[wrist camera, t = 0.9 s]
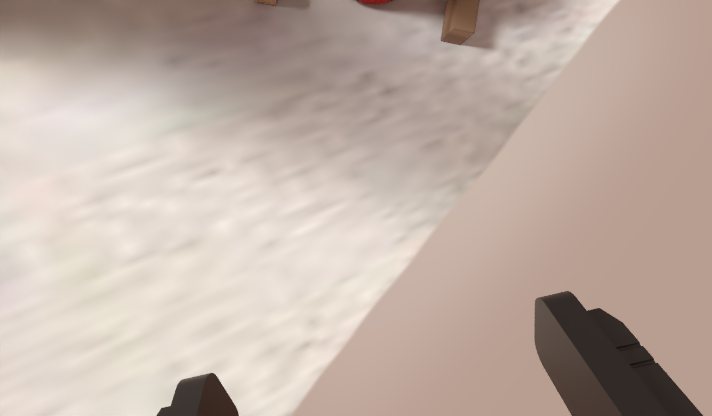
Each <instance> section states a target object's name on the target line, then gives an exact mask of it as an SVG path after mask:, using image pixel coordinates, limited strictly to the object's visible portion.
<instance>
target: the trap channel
mask: <svg viewBox="0 0 712 416" xmlns="http://www.w3.org/2000/svg"><path fill="white" fill-rule="evenodd" d="M254 2H259V3H264V4H269V5H273V6H276V3H277V0H254ZM478 6H479V0H447V3H446V10H445V16H444V23H443V30H442V36H441V41H444V42H449V43H454V44H459V45H460V44H462V43H463V42H464V41H465V40H466V39H467V38H469V37H470V36H471V35H472V34H473V33H475V26H476V19H477V13H478Z"/></svg>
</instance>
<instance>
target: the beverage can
mask: <svg viewBox="0 0 712 416" xmlns="http://www.w3.org/2000/svg"><path fill="white" fill-rule="evenodd" d="M358 1H360V2H364V3H369V4H380V3H386V2H389V1H392V0H358Z"/></svg>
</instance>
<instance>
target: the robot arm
mask: <svg viewBox="0 0 712 416" xmlns="http://www.w3.org/2000/svg"><path fill="white" fill-rule="evenodd" d="M535 345H536V349H537V353H538V355H539V358H540V360H541V362H542V365H543V366H544V368H545V370H546V372H547V373H548V375H549V377H550V379H551V380H552V382H553V384H554V385H555V387H556V389H557V391H558V392H559V394H560V396H561V398H562V399H563V401H564V403H565V404H566V406H567V408H568V410H569V411H570V413H571V415H572V416H703V415H702V414H701V413H700V412H699V411H698V409H697V408H696V407H695V406H694V405H693V403H692V402H691V401H690V400H689V399H688V398H687V397H686V395H685V394H684V393H683V392H682V391H681V390H680V389H679V387H678V386H677V385H676V384H675V383H674V382H673V380H672V379H671V378H670V377H669V376H668V375H667V373H666V372H665V371H664V370H663V369H662V368H661V366H660V365H659V364H658V363H655V362H654V359H653V357H652V356H651V355H650V354H649V353H648V351H647V350H646V349H645V348H644V347H643V346H641V345H640V343H639V341H638V340H637V339H636V338H635V336H634V335H633V334H632V333H631V332H630V331H629V329H628V328H627V327H626V326H625V325H624V324H623V323H622V322H621V321H619V320H618V319H616V318H614V317H613V316H611V315H610V314H608V313H606V312H605V311H603V310H602V309H600V308H597V309H593V310H589V311H586V309H585V308H584V307H583V306H582V304H581V303H580V302H579V301H578V299H577V298H576V297H575V296H574V295H573V294H572V293H571V292H569V291H566V292H561V293H557V294H553V295H548V296H544V297H540V298H537V299H536V300H535ZM157 416H239V415H238V411H237V408H236V406H235V405H234V403H233V402H232V400H231V398H230V397H229V395H228V394H227V392H226V390H225V389H224V387H223V386H222V384H221V382H220V381H219V379H218V378H217V376H216V375H215V374H214V373H209V374H205V375H200V376H196V377H192V378H188V379H183V380H181V381H180V382H179V383H178V385H177V388H176V391H175V394H174V397H173V400H172V404H171V406H169V407H165V408H161V410H160V411H159V413H158V414H157Z"/></svg>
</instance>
